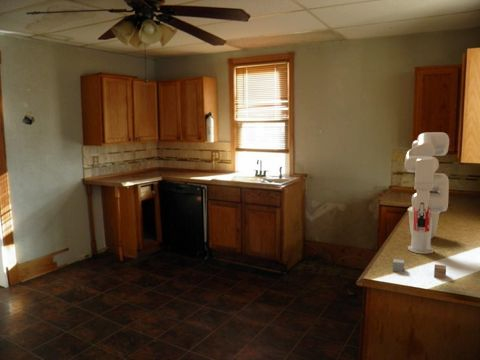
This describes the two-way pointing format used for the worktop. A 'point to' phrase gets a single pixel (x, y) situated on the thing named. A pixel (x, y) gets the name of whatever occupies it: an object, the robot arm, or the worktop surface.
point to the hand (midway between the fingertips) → (421, 224)
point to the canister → (433, 216)
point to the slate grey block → (398, 265)
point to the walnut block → (440, 271)
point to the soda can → (427, 222)
